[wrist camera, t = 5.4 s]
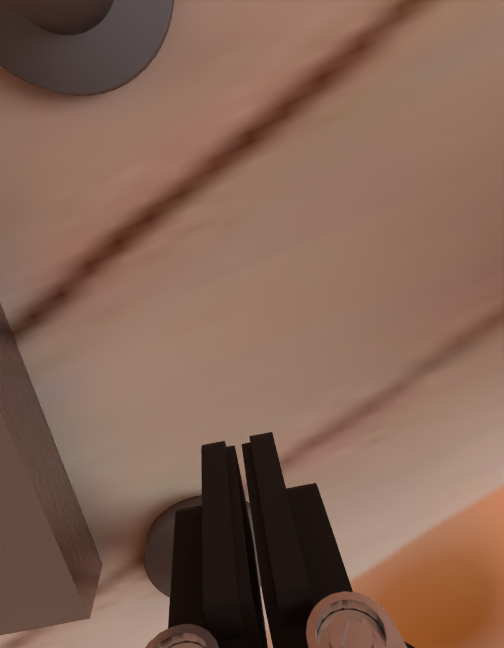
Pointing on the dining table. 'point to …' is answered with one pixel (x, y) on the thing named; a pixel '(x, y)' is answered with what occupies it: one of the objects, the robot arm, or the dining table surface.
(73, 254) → the dining table surface
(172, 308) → the dining table surface
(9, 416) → the breaker panel
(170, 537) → the post
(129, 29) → the knob
